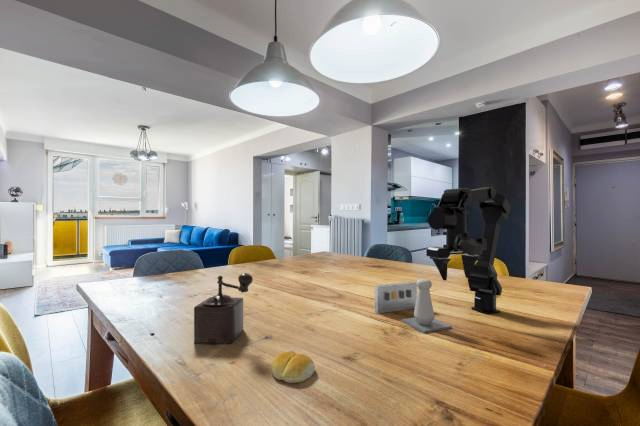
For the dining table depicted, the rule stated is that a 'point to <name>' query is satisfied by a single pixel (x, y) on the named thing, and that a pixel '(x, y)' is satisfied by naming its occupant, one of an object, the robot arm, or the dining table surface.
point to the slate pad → (434, 325)
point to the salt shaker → (424, 303)
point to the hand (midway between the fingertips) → (456, 279)
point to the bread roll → (292, 367)
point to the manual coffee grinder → (221, 315)
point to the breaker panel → (395, 297)
